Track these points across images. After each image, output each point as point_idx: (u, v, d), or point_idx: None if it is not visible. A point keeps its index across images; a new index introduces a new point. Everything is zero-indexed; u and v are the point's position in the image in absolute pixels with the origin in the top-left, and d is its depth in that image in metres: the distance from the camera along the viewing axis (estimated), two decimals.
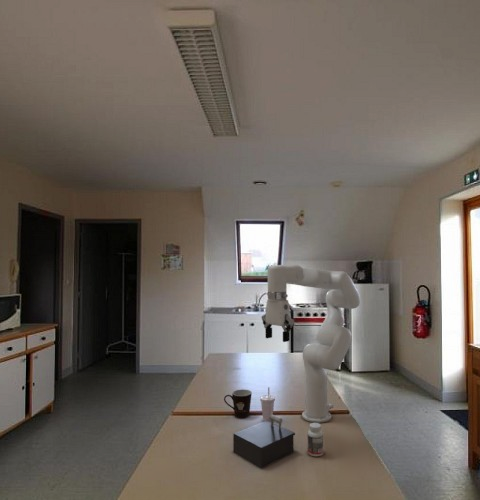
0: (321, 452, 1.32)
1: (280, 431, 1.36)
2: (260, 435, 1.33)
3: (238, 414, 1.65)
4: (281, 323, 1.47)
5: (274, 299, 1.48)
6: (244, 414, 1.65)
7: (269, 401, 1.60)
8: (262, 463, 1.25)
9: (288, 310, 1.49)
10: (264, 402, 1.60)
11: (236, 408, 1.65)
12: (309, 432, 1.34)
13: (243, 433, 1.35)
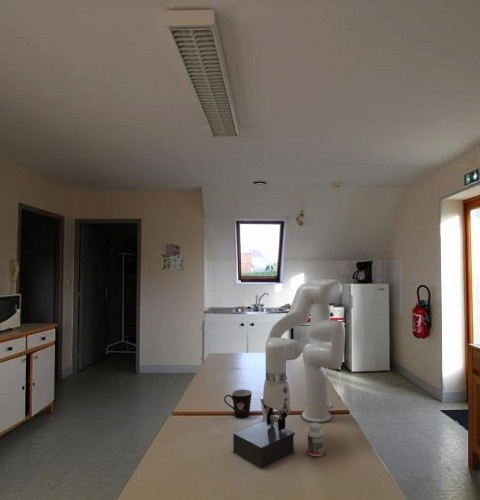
0: (321, 452, 1.32)
1: (280, 431, 1.36)
2: (260, 435, 1.33)
3: (238, 414, 1.65)
4: (280, 409, 1.35)
5: (272, 382, 1.37)
6: (244, 414, 1.65)
7: None
8: (262, 463, 1.25)
9: (288, 393, 1.37)
10: None
11: (236, 408, 1.65)
12: (309, 432, 1.34)
13: (243, 433, 1.35)
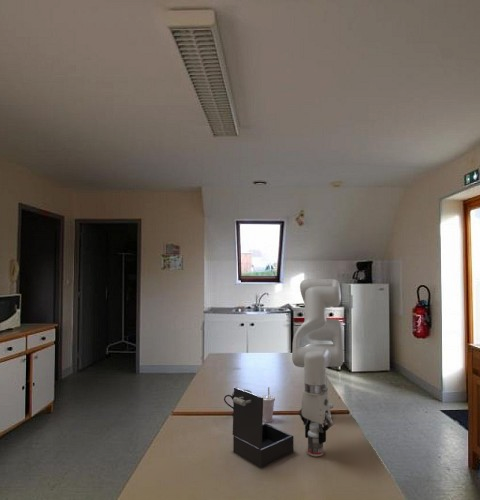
0: (321, 452, 1.32)
1: (252, 404, 1.28)
2: (247, 424, 1.29)
3: None
4: (321, 422, 1.30)
5: (312, 393, 1.31)
6: None
7: (269, 401, 1.60)
8: (262, 463, 1.25)
9: (328, 405, 1.32)
10: (264, 402, 1.60)
11: None
12: (309, 432, 1.34)
13: (237, 429, 1.33)
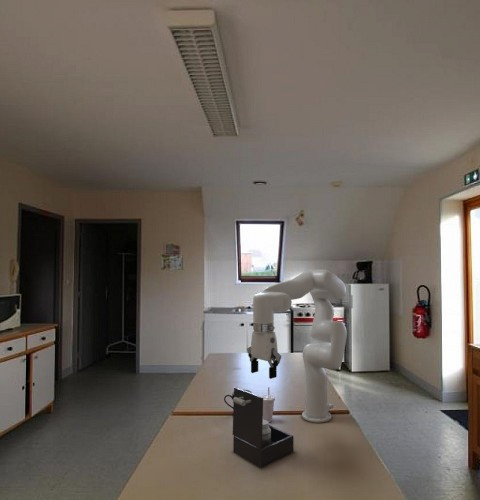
0: None
1: (252, 404, 1.28)
2: (247, 424, 1.29)
3: None
4: (268, 358, 1.35)
5: (259, 332, 1.36)
6: None
7: (269, 401, 1.60)
8: (262, 463, 1.25)
9: (275, 343, 1.36)
10: (264, 402, 1.60)
11: None
12: None
13: (237, 429, 1.33)
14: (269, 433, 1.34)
